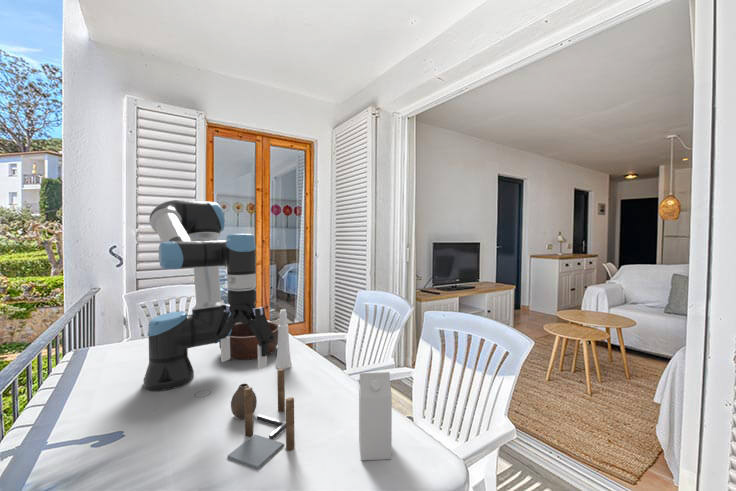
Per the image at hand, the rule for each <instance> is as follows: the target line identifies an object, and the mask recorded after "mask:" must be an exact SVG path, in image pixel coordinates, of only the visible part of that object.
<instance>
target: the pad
mask: <svg viewBox="0 0 736 491" xmlns="http://www.w3.org/2000/svg"><path fill="white" fill-rule="evenodd" d="M283 447H284V443H283V442H281V441H277V440H274V439H273V440H272V439H269V437H265V436H261V435H259V434H253V435H252V436H250V437H249V438H248V439H247V440H246V441H244V442H243V443H242V444H240V445H239V446H238V447H236V448H235V449H234V450H233V451H231V452H230V453H229V454H227V456H226V457H227V459H229V460H232V461H234V462H237V463H239V464H243V465H245V466H248V467H250V468H253V469H256V470H259V469H260V468H261V467H262V466H263V465H264V464H265V463H266V462H267V461H268V460H270V459H271V458H272V456H274V455H275V454H277V452H279V451H280V450H281V449H282V448H283Z"/></svg>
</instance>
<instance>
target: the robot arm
mask: <svg viewBox="0 0 736 491" xmlns="http://www.w3.org/2000/svg"><path fill="white" fill-rule="evenodd" d="M148 220H149V223H150V227H151V228H152V230H153V231H154V232H155V233H157V234H158V237H159V240H160V243H159V245H158V261H159V266H160V268H162V269H163V270H167V269H168V270H179V269H180V270H182V269H192V268H193V278H194V290H195V291H194V292H195V293H194V294H195V305H194V306H193V308H191V314H188V313H187V312H186V311H183V310H180V311H171V312H167V313H162V314H159V315H157V316H155V317H154V318H152V319H151V320H150V321H149V322H148V326H147V330H148V331H147V336H148V365H147V368H146V372H145V375H144V377H143V388H144V389H145V390H147V391H151V392H153V391H155V392H157V391H159V392H160V391H169V390H173V389H176V388H179V387H183V386H184V385H186V384H187V385H188V384H189V383H190V382H191V381H192V380H193V379H194V377H195V375H194V374H195V373H194V368H193V365H192V363H191V360H190V358H189V356H188V354H189V353H188V352H189V351H188V349H191V348H195V347H201V346H207V345H212V344H215V345H216V344H218V343H219V350H220V362H222V363H223V362H227V361H228V360H230V359H231V358H230V334H231V331H232V328H233V326H234V325H235V324H237V323H246V325H248V326H249V327H250V329H251V330H252V332H253V333H254V335H255V337H256V338H257V340H258V341H259V343H260V344H259V345H257V346H258V358H257V370H261V369H264V368H266V367H268V358H267V357H268V344H269V343H270V342H273V341H274V340H275V339H274V336H273V333H272V331H271V328H270V326H269V323H268V322H269V321H268V318H267V316H266V312H265V311H266V310H265V307H264V306H261V307H256V305H255V304H256V302H257V290H256V287H257V275H256V273H257V272H256V270H257V269H256V266H257V265H256V248H257V247H256V240H255V235H254V234H252V233H229V234H227V236H226V239H223V240H217V239H218V238H219V237H220V236H221V232H223V231H224V229H225V226H226V224H225V222H226V221H225V215H224V212H223V208H222V207H221V206H220V204H219V203H217V202H215V201H207V200H204V201H199V200H180V199H179V200H177V199H175V200H168V201H165V202H162V203H160V204H159V205H157V206H155V208H153V209H152V211H151V213H150V214H149V219H148ZM223 266H226V270H227V271H226V274H227V275H226V276H227V282H226V284H227V289H229V290H227V303H224V302H223V301H222V294H221V291H222V290H221V281H220V279H221V278H220V270H219V269H220V268H219V267H223ZM263 339H264V340H263Z"/></svg>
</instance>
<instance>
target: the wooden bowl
mask: <svg viewBox="0 0 736 491" xmlns="http://www.w3.org/2000/svg"><path fill="white" fill-rule="evenodd" d="M268 323H269V326H270V328H271V331H272V333H273V336H274V339H275V340H274V341H273V342H270V343H269V344H268V355H269V356H270V355H271V354H272V353H273V352H274V351H275V350H276V348H278V325H279V323H277V322H273V321H268ZM263 340H264V339H263ZM259 344H260V343H259V341H258V340H257V338H256V337H255V335H254V333H253V332H252V330H251V329H250V327H249V326H248V325H246V323H242V322H236V324H235V325H234V326H233V328H232V331H231V334H230V359H232V360H238V361H239V360H240V361H243V360H246V361H248V360H255V359H258V346H257V345H259ZM268 355H267V356H268Z"/></svg>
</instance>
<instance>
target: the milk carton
mask: <svg viewBox="0 0 736 491" xmlns="http://www.w3.org/2000/svg"><path fill="white" fill-rule="evenodd" d="M390 379H391V376H390V372H389V371H388V372H387V371H381V372H380V371H378V372H360V373H359V381H358V445H359V455H360V456H359V457H360V461H373V460H374V461H377V460H392V447H393V446H392V444H393V443H392V442H393V440H392V439H393V438H392V437H393V435H392V434H393V431H392V423H393V422H392V420H393V419H392V418H393V417H392V416H393V414H392V410H393V408H392V407H393V406H392V405H393V404H392V402H393V401H392V399H393V397H392V396H393V395H392V394H393V393H392V386H391V380H390Z"/></svg>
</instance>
